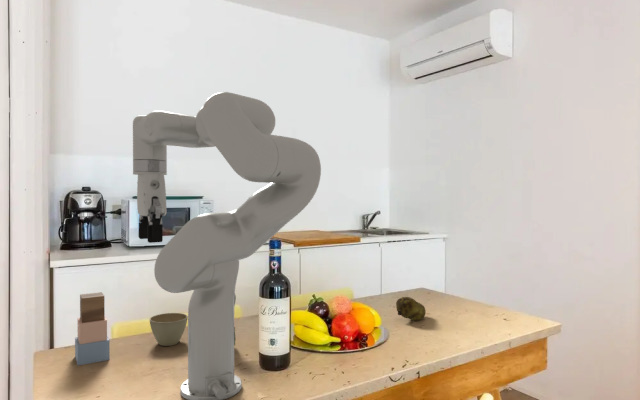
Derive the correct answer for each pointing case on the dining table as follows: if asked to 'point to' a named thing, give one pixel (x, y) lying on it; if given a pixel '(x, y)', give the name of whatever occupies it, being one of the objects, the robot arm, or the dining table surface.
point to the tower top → (92, 331)
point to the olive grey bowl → (168, 327)
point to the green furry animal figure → (410, 308)
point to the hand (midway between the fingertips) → (150, 240)
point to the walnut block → (92, 307)
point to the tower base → (92, 351)
